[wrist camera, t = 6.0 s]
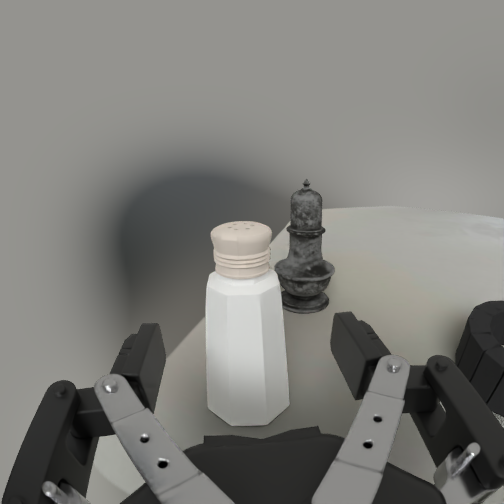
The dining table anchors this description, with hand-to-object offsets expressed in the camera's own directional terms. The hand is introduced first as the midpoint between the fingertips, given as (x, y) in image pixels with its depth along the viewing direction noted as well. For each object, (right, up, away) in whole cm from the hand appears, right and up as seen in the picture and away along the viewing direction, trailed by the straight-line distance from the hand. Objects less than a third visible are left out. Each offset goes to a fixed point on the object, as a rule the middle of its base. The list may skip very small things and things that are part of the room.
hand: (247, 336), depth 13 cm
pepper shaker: (0, -6, +4) cm, 7 cm away
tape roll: (+21, -6, +2) cm, 22 cm away
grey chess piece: (+5, -1, +17) cm, 17 cm away
